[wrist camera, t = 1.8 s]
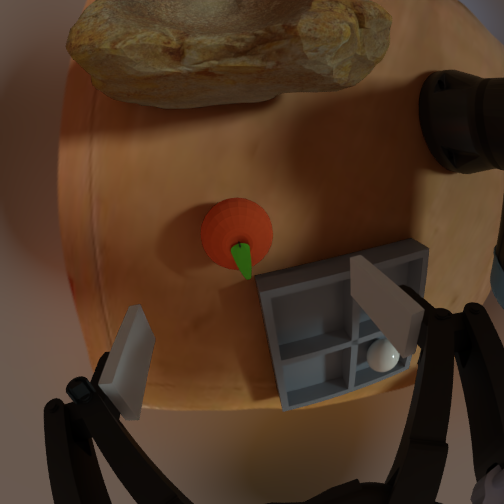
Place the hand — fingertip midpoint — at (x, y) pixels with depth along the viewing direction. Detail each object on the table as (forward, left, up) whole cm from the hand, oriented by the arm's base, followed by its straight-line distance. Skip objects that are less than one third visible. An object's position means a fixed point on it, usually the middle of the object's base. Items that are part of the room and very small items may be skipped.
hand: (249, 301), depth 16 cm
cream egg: (-17, +22, -14) cm, 32 cm away
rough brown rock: (-3, -21, -15) cm, 26 cm away
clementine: (0, 0, -15) cm, 15 cm away
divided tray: (-12, +17, -15) cm, 26 cm away
